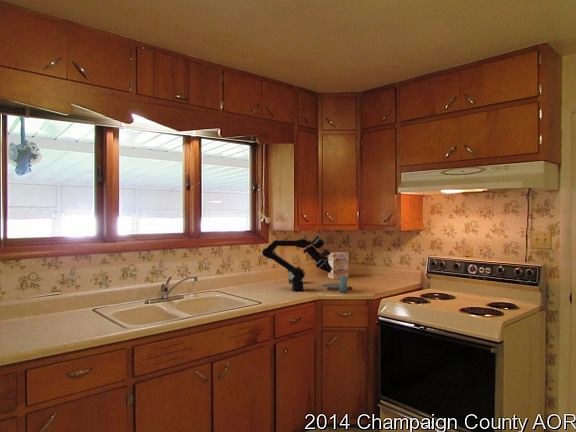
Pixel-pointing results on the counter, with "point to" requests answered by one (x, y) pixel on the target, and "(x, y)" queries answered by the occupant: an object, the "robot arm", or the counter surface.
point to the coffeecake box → (338, 264)
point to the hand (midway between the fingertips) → (331, 271)
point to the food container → (290, 277)
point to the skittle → (343, 284)
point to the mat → (331, 285)
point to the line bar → (337, 288)
